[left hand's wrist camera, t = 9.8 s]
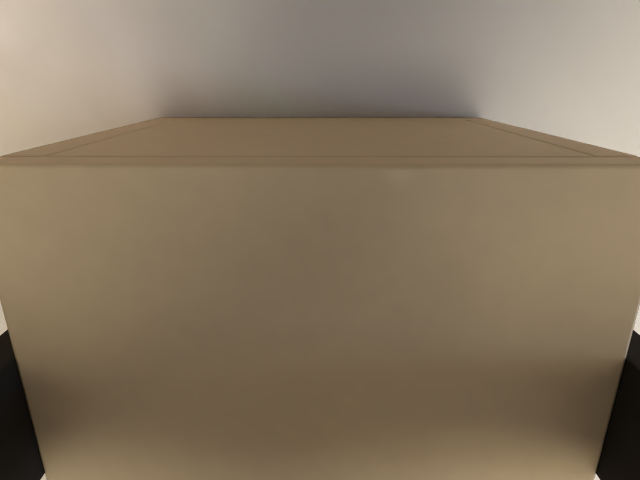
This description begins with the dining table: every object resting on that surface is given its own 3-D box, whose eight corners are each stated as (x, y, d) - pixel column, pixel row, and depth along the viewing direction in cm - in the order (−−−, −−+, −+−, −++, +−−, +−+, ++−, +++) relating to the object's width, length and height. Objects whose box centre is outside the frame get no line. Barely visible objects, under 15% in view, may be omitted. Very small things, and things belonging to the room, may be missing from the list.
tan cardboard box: (438, 496, 21) (517, 776, 13) (201, 495, 21) (122, 775, 13) (482, 117, 16) (679, 164, 7) (158, 117, 16) (-38, 164, 7)
